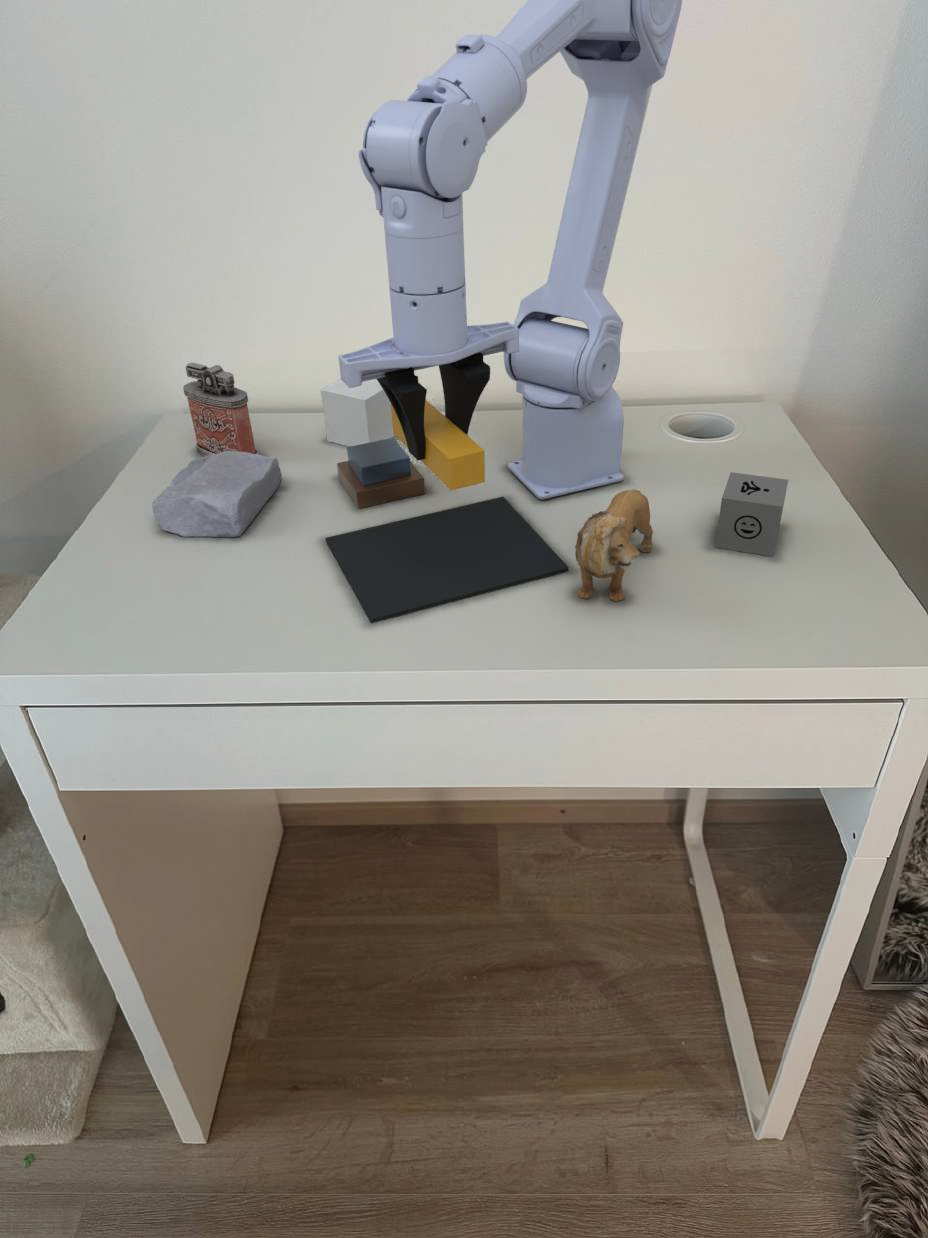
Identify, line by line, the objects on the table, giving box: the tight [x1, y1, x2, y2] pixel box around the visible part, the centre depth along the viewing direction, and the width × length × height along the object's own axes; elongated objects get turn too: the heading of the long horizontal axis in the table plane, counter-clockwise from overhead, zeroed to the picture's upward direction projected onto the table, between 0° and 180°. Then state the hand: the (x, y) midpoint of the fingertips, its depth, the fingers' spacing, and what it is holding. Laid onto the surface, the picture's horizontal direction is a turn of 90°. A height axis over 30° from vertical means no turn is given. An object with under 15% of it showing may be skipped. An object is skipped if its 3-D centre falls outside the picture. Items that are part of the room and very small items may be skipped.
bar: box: [391, 399, 486, 492], centre depth 77 cm, size 12×3×3 cm, turn 26°
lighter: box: [182, 362, 259, 457], centre depth 99 cm, size 8×3×10 cm, turn 58°
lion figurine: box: [574, 488, 654, 603], centre depth 78 cm, size 15×5×9 cm, turn 162°
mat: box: [325, 496, 570, 624], centre depth 84 cm, size 18×14×1 cm
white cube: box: [320, 378, 396, 447], centre depth 103 cm, size 6×6×6 cm
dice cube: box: [714, 471, 789, 558], centre depth 83 cm, size 5×5×5 cm
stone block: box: [151, 451, 282, 538], centre depth 92 cm, size 12×5×10 cm
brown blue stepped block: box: [336, 437, 426, 509], centre depth 94 cm, size 7×7×4 cm
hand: (437, 450), depth 78 cm, fingers closed on bar, 3 cm apart
